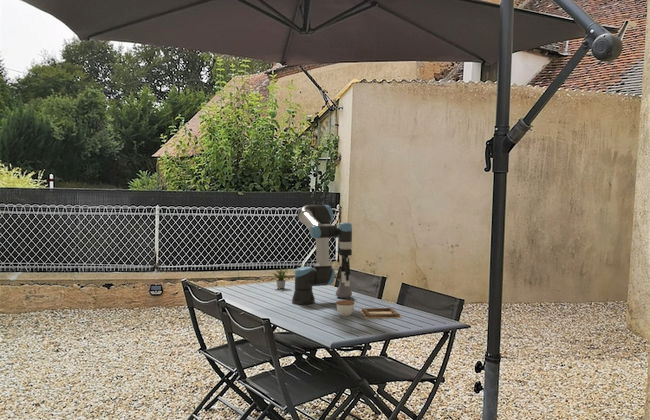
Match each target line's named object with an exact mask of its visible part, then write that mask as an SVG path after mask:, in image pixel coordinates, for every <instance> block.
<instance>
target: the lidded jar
mask: <svg viewBox="0 0 650 420" xmlns="http://www.w3.org/2000/svg"><path fill="white" fill-rule="evenodd" d="M336 310H337V312H338V313H339V314H340V316H342V317H343V316H344V317H345V316H346V317H349V316H351V314H353V312H354V310H355V301H353V300H350V299H349V300H348V299H347V298H346V299H342V300H337V301H336Z"/></svg>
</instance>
